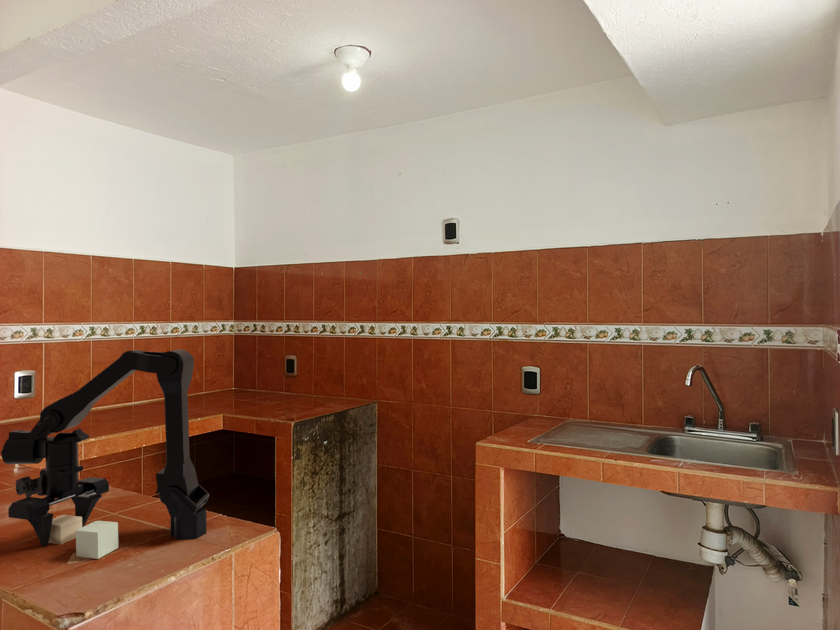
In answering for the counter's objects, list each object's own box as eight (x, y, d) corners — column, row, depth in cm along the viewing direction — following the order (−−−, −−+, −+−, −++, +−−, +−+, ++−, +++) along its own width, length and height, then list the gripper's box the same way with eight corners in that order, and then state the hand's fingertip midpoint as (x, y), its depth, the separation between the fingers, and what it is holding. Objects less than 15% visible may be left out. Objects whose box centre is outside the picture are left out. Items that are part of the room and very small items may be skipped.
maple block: (82, 540, 117) (82, 516, 117) (60, 550, 113) (60, 525, 113) (63, 538, 119) (63, 514, 119) (41, 547, 114) (41, 523, 114)
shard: (136, 549, 114) (136, 541, 114) (130, 565, 106) (130, 556, 106) (75, 557, 110) (75, 548, 110) (64, 574, 103) (64, 564, 103)
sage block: (118, 547, 110) (117, 522, 110) (98, 558, 105) (97, 532, 105) (97, 545, 111) (96, 520, 111) (76, 556, 106) (75, 530, 106)
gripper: (71, 449, 127) (71, 518, 127) (-13, 472, 109) (-13, 552, 109) (110, 453, 124) (111, 523, 124) (30, 476, 106) (30, 559, 106)
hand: (62, 538), depth 116 cm, fingers open, 8 cm apart
